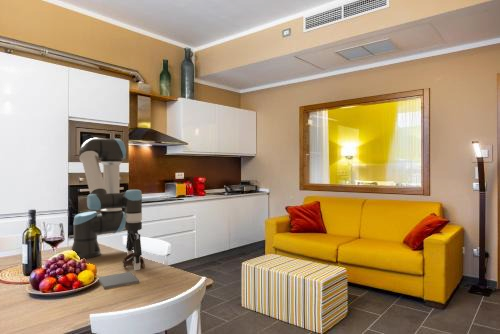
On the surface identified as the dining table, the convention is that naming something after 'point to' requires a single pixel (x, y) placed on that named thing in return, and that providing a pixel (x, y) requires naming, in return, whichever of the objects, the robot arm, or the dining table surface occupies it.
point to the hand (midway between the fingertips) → (133, 266)
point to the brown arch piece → (130, 261)
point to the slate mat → (118, 280)
